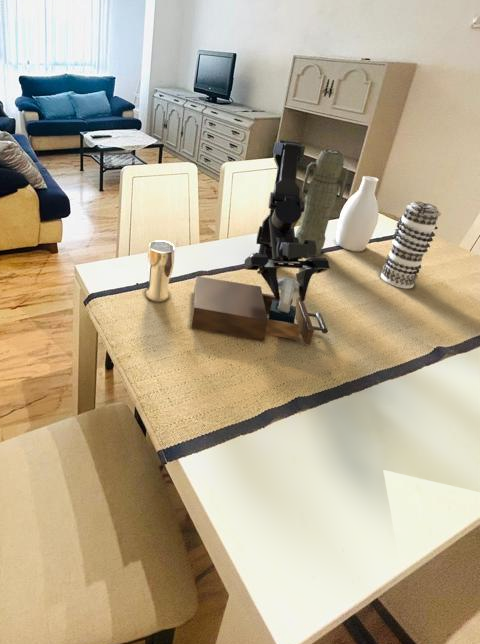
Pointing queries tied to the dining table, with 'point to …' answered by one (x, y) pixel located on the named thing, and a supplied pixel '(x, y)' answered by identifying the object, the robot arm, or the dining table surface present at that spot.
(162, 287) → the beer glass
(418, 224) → the white and black cylinder
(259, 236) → the robot arm
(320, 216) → the thermos
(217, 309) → the cabinet
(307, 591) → the dining table surface
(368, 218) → the bottle
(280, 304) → the watch
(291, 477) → the dining table surface
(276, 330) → the drawer
